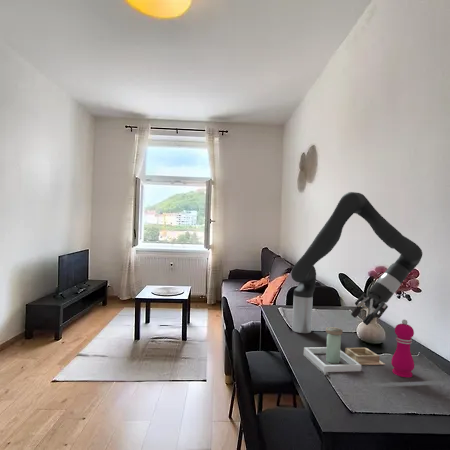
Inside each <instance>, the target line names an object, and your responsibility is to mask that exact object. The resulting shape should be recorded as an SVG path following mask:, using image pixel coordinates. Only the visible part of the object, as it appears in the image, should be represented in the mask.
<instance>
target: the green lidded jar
mask: <svg viewBox="0 0 450 450" xmlns="http://www.w3.org/2000/svg"><path fill="white" fill-rule="evenodd" d="M325 333H326V346H325V347H326V353H325V361H326V362H328V363H330V364H339V363H340V362H341V357H340V350H341V343H342V342H341V341H342V335H343V329H342V328H339V327H335V326H333V327H332V326H327V327H326V328H325Z"/></svg>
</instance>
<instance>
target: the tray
mask: <svg viewBox="0 0 450 450" xmlns="http://www.w3.org/2000/svg"><path fill="white" fill-rule="evenodd" d="M326 347H327V346H322V347H321V346H319V347H315V346H314V347H310V346H309V347H303V356H304V357H305V358H306V359H307V360H308V361H309V362H310V363H311V364H312V365H313V366H314V367H315V368H316V369H318V371H320V373H321V374H323V375H324V376H329V375H330V373H336V372H337V373H338V372H340V373H341V372H342V373H343V372H361V371H362V365H360V364H359V363H358V362H356V361H355V360H354V359H352V358H351V357H349V356H348V355H347V354H345V351H343V350H342V349H340V359H342V360H344V361H345V362H346V363H347V364H326V363H325V362H323V360H321V359H320V358H319V357H318V356H317V355H315V354H326Z"/></svg>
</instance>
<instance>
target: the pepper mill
mask: <svg viewBox="0 0 450 450" xmlns="http://www.w3.org/2000/svg"><path fill="white" fill-rule="evenodd" d="M394 333H395V335H396V336H395V341H396V349H395V352H393V353H394V354H393V355H392V357H391V363H390V364H391V366H392V367H393V368H392V373H393V374H394V375H396V376H397V377H402V378H412V377H413V372H412V371H413V370H414V369H415V362H414V358H413V355H412V353H411V352H412V351H411V344H413V342H412V341H413V340H412V338H413V337H414V335H415V331H414V328H413V326H411V325H410V324H408V320H406V319H402V320H401V323H399V324H396V325H395V327H394Z"/></svg>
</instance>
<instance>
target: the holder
mask: <svg viewBox="0 0 450 450" xmlns="http://www.w3.org/2000/svg"><path fill="white" fill-rule="evenodd" d="M344 353H345V354H347V355H348V356H349V357H351V358H352V359H354V360H355V361H356V362H358V363H359V364H360V365H361V366H369V365H370V366H373V365H375V366H376V365H377V366H378V365H385V362H383V361H381V360H380V358H381V357H380V355H379V354H377V353H375V352H374V351H372V350H370V349H369V348H367V347H345V348H344Z"/></svg>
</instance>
